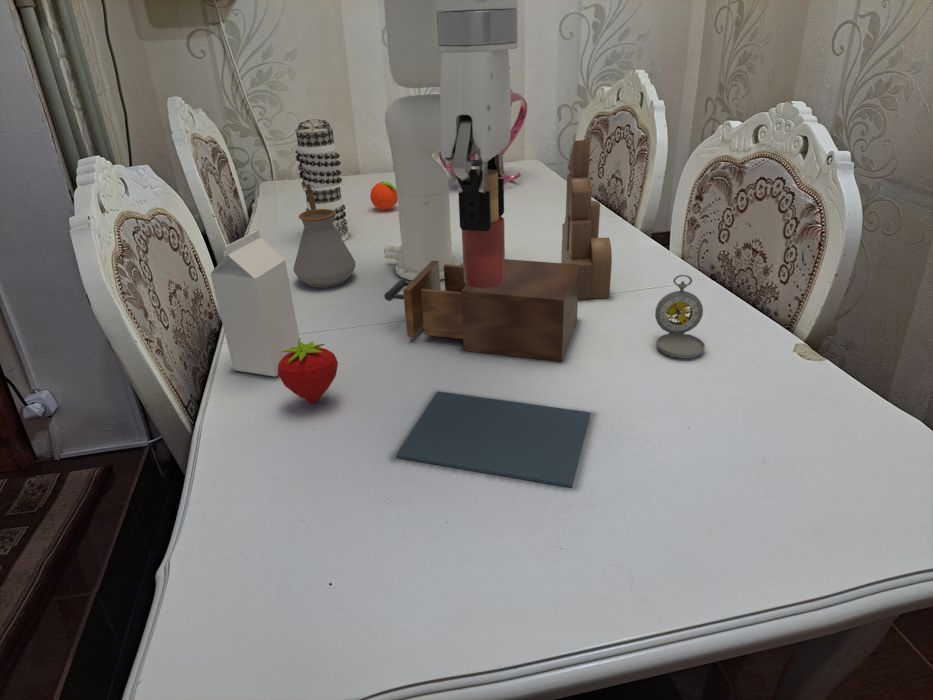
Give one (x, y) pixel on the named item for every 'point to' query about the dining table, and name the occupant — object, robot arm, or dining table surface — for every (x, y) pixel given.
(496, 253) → the red cylinder
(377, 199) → the clementine
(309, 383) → the strawberry
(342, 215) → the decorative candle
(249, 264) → the milk carton
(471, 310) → the cabinet
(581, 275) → the wooden toy
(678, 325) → the pocket watch
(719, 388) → the dining table surface
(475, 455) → the mat
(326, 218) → the coffee pot
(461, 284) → the drawer
